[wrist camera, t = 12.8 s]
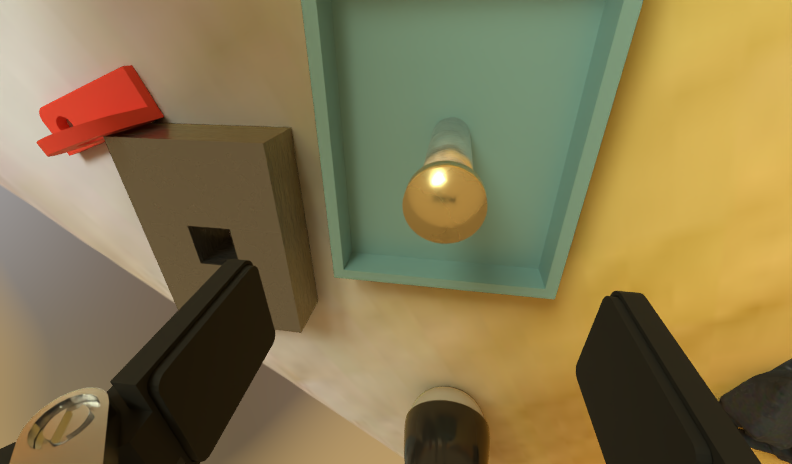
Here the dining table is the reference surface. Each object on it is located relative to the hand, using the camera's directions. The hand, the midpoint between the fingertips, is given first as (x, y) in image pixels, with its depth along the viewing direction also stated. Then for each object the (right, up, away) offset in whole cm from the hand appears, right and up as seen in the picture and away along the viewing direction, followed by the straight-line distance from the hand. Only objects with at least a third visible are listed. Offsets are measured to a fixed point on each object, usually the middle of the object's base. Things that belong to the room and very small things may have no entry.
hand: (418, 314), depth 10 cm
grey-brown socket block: (-17, +3, +27) cm, 32 cm away
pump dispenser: (+6, -20, +36) cm, 42 cm away
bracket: (-28, +14, +23) cm, 39 cm away
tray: (+4, +10, +19) cm, 22 cm away
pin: (+4, +10, +18) cm, 21 cm away
